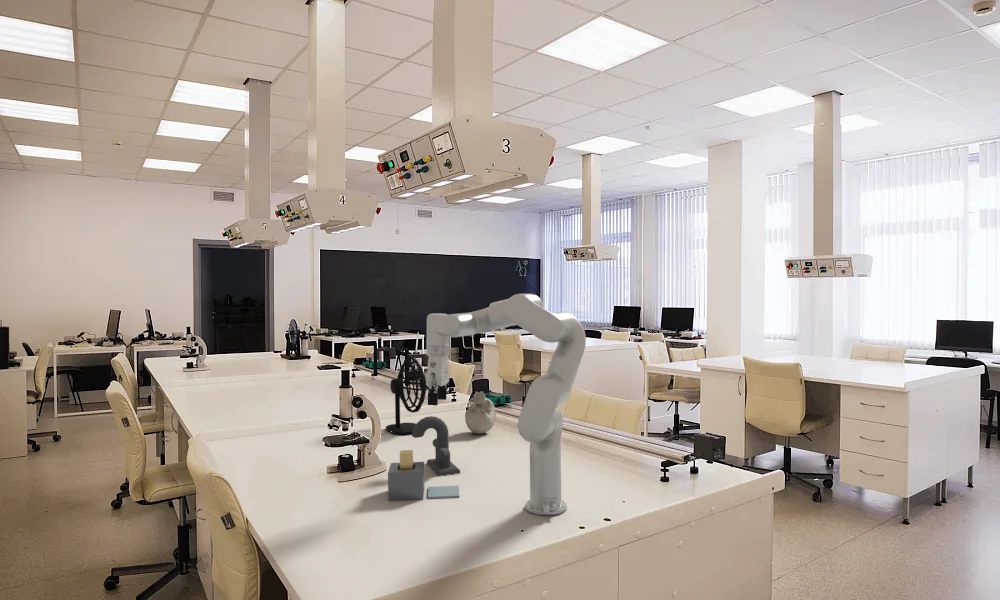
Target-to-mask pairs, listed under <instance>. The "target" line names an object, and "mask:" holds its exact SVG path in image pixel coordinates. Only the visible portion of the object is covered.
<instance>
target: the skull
mask: <svg viewBox="0 0 1000 600" xmlns="http://www.w3.org/2000/svg"><path fill="white" fill-rule="evenodd" d="M471 403H472V406H470V405H471ZM464 419H465V424H466V426H467V428H468V430H469V431H470V432H472V433H474V434H477V435H481V434H484V433H487V432H489V431H490V430H491V429H492V428H493V427H494V424H495V419H496V408H495V405H494V402H493V401H492V400H491V399H489V398H487V397H486V395H485V392H484V391H479V392H478V391H475V393H474V394H473V397H472V398H470V399H469V401H468V402H467V410H466V411H465V414H464Z"/></svg>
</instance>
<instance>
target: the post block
mask: <svg viewBox="0 0 1000 600" xmlns="http://www.w3.org/2000/svg"><path fill="white" fill-rule="evenodd" d="M424 497H425V461H415V462H414V461H413V469H409V470H400V462H390V465H389V469H388V472H387V499H388V501H387V502H394V501H396V502H397V501H417V500H419V501H422V500H424Z"/></svg>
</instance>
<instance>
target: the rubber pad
mask: <svg viewBox="0 0 1000 600" xmlns="http://www.w3.org/2000/svg"><path fill="white" fill-rule="evenodd" d="M427 492H428V493H427V499H428V500H430V499H432V500H433V499H450V497H457V498H460V485H443V486H442V485H441V486H439V485H437V486H428V491H427Z"/></svg>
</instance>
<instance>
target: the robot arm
mask: <svg viewBox="0 0 1000 600" xmlns="http://www.w3.org/2000/svg"><path fill="white" fill-rule="evenodd" d="M511 326H512V327H513V326H518V327H520V328H522V329H523V330H525V331H526V332H527V333H529V334H531V335H532V336H534V337H536V338H538V340H541V341H542V342H545V343H551V344H553V343H557V345H556V348H555V350H554V352H553V354H552V356H551V359H550V362H549V366H548V368H547V370H546V372H545V374H543V375H539V376H538V377H537V378H535V379H534V380H533V381H532V383H531V384H530V386H529V389H528V391H527V393H526V396H525V399H524V402H523V405H522V407H521V410H520V413H519V417H518V422H517V429H518V433H519V435H520V436H521V438H522V439H523V440H524V441H526V442H528V443H529V498H530V499H528V500H527V501H526V502H525V504H524V508H525V510H526V511H528V512H529V513H531V514H534V515H539V516H553V515H554V516H555V515H560V514H562V513H565V511H566V510H567V503H566V502H565V500H562V438H563V437H562V436H563V427H564V421H563V415H562V412H561V411H560V409H559V408H558V405H560V404H562V403H564V402H566V401H567V400H568V398H569V397H570V395H571V391H572V389H573V385H574V383H575V379H576V376H577V374H578V371H579V367H580V365H581V362H582V359H583V356H584V353H585V349H586V343H587V337H586V332H585V328H584V327H583V325H582V323H581V321H580V320H579V319H578V318H577V317H576V316H574V315H573V314H572V313H568V312H561V311H560V312H559V311H558V312H551V311H549V310H548V309H545V308H544V303H543V301H542V299H541V298H540V297H539V296H538V295H536V294H534V293H517V294H516V293H515V294H514V295H512V296H511V297H509V298H507V299H503V300H502V299H501V300H498V301H494V302H491V303H490V304H489V306H487V307H486V308H482V309H478V310H475V311H471V312H470V311H469V312H461V313H451V314H447V313H441V312H440V313H435V312H434V313H429V314H428V315H427V317H426V356H427V357H428V360H427V372H426V373H427V375H426V376H427V377H426V384H427V386H428V389H427V405H428V406H435V407H436V406H438V404H439V400H441V401H443V400H444V401H446V400H447V395H448V392H447V389H448V388H447V385H448V383H449V382H450V366H449V365H450V362H449V356H450V338H459V337H467V336H472V335H473V336H474V335H476V334H480V333H485V332H489V331H493V330H500V329H505V328H508V327H511Z"/></svg>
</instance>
